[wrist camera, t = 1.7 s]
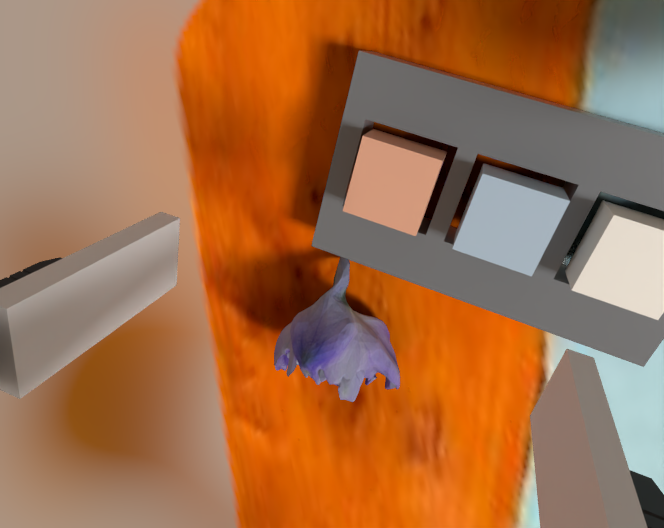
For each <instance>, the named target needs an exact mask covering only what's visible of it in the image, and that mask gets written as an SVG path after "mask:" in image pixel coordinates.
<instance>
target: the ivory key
mask: <svg viewBox="0 0 664 528" xmlns="http://www.w3.org/2000/svg"><path fill="white" fill-rule="evenodd" d="M565 273H566V276H567V279H568V282H569V285H570V288H571V290H572V291H575V292H578V293H581V294H584V295H587V296H589V297H592V298H595V299H598V300H601V301H604V302H607V303H610V304H613V305H615V306H618V307H621V308H624V309H627V310H630V311H633V312H636V313H639V314H641V315H644V316H647V317H650V318H653V319H656V320H659V318H660V317H661V315H662V314H663V313H664V219H661V218H658V217H655V216H652V215H648V214H645V213H642V212H639V211H636V210H632V209H629V208H626V207H623V206H619V205H616V204H613V203H610V202H607V201H602V203H601V205H600V207H599V209H598V210H597V212H596V214H595V216H594V218H593V220H592V221H591V223H590V225H589V227H588V229H587V231H586V232H585V234H584V236H583V238H582V240H581V242H580V243H579V245H578V247H577V249H576V251H575V253H574V255H573V256H572V258H571V260H570V262H569V264H568V266H567V267H566V269H565Z"/></svg>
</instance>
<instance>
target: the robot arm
mask: <svg viewBox="0 0 664 528" xmlns="http://www.w3.org/2000/svg"><path fill="white" fill-rule="evenodd" d="M179 225H180V218H178V217H175V216H172V215H169V214H166V213H163V212H159V213H157V214H155V215H153V216H151V217H149V218H147V219H145V220H142V221H140V222H138V223H136V224H134V225H132V226H130V227H128V228H126V229H124V230H122V231H120V232H117V233H115V234H113V235H111V236H109V237H107V238H105V239H103V240H100V241H98V242H97V243H94V244H92V245H90V246H88V247H86V248H84V249H82V250H80V251H77V252H75V253H73V254H71V255H69V256H67V257H65V258H55V259H51V260H47V261H42V262H39V263H37V264H35V265H32V266H30V267H28V268H26V269H24V270H23V271H22V272H21V271H19V272H17V273H15V274H13V275H10V277H9V278H4V279H2V280H0V390H2V391H4V392H6V393H9V394H10V395H13V396H15V397H17V398H19V399H20V398H22V397H23V396H25V395H26V394H27V393H29V392H30V391H32V390H33V389H34V388H36V387H37V386H38V385H40V384H41V383H42V382H44V381H45V380H47V379H48V378H49V377H51V376H52V375H53V374H55V373H56V372H58V371H59V370H60V369H62V368H63V367H64V366H66V365H67V364H69V363H70V362H71V361H73V360H74V359H75V358H77V357H78V356H79V355H81V354H82V353H84V352H85V351H86V350H88V349H89V348H90V347H92V346H93V345H95V344H96V343H98V342H99V341H100V340H102V339H103V338H104V337H106V336H107V335H109V334H110V333H111V332H113V331H114V330H115V329H117V328H118V327H119V326H121V325H122V324H124V323H125V322H126V321H128V320H129V319H130V318H132V317H133V316H135V315H136V314H137V313H139V312H140V311H141V310H143V309H144V308H146V307H147V306H148V305H150V304H151V303H152V302H154V301H155V300H157V299H158V298H159V297H161V296H162V295H163V294H165V293H166V292H168V291H169V290H170V289H172V288H173V287H174V286H176V283H177V282H176V281H177V262H178V244H179ZM530 418H531V429H532V440H533V451H534V462H535V473H536V484H537V495H538V506H539V517H540V528H664V495H663V493H662V492H661V491H660V489H659V488H658V486H657V485H656V484H655V482H654V481H653V480H652V479H651V478H649V477H646V476H643V475H641V474H638V473H635V472H633V471H630V470H629V468H628V465H627V461H626V458H625V455H624V452H623V449H622V446H621V442H620V439H619V436H618V433H617V430H616V427H615V423H614V420H613V417H612V414H611V411H610V408H609V405H608V401H607V398H606V395H605V392H604V389H603V386H602V382H601V379H600V376H599V373H598V370H597V367H596V363H595V360H594V358H593V357H590V356H587V355H584V354H581V353H578V352H575V351H572V350H569V349H566V351H565V353H564V355H563V357H562V359H561V360H560V362H559V364H558V366H557V368H556V370H555V371H554V373H553V375H552V377H551V379H550V380H549V382H548V384H547V386H546V388H545V390H544V391H543V393H542V395H541V397H540V399H539V401H538V402H537V404H536V406H535V408H534V410H533V411H532V413H531V415H530Z"/></svg>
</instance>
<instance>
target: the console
mask: <svg viewBox="0 0 664 528" xmlns="http://www.w3.org/2000/svg"><path fill="white" fill-rule="evenodd" d="M374 122H377V123H380V124H383V125H386V126H390V127H393V128H396V129H399V130H403V131H406V132H409V133H412V134H415V135H419V136H422V137H425V138H428V139H432V140H435V141H438V142H441V143H445V144H448V145H451V146H454V147H458V149H457V152H456V155H455V158H454V160H453V163H452V166H451V168H450V171H449V174H448V177H447V179H446V182H445V185H444V187H443V190H442V193H441V196H440V198H439V201H438V204H437V206H436V209H435V212H434V215H433V217H432V220H431V219H428V218H425V217H424V218H423V220H422V223H421V225H420V228H419V230H418V232H417V235H416V236H413V235H410V234H407V233H405V232H402V231H399V230H396V229H393V228H390V227H387V226H384V225H381V224H379V223H376V222H373V221H370V220H367V219H364V218H361V217H358V216H355V215H353V214H350V213H347V212H344V211H343V208H344V204H345V200H346V196H347V193H348V189H349V185H350V181H351V178H352V174H353V170H354V166H355V163H356V159H357V155H358V151H359V148H360V144H361V140H362V136H363V135H365V134H366V133H368V132H369V131H371V130H372V129H373V125H374ZM478 154H480V155H483V156H487V157H490V158H493V159H496V160H500V161H503V162H506V163H509V164H513V165H516V166H519V167H522V168H526V169H529V170H532V171H535V172H539V173H542V174H545V175H548V176H551V177H555V178H558V179H561V180H564V181H566V182H565V184H564V187H563V188H564V190H565V192H566V194H567V196H568V198H569V200H570V203H569V205H568V206H567V208H566V210H565V212H564V214H563V216H562V218H561V220H560V222H559V224H558V226H557V228H556V230H555V232H554V234H553V236H552V238H551V240H550V242H549V244H548V246H547V248H546V250H545V252H544V254H543V256H542V258H541V259H540V261H539V263H538V265H537V267H536V269H535V271H534V273H533V275H532V276H529V275H526V274H523V273H520V272H517V271H514V270H511V269H509V268H506V267H503V266H500V265H497V264H494V263H491V262H488V261H485V260H483V259H480V258H477V257H474V256H471V255H468V254H465V253H462V252H459V251H457V250H454V249H452V248H453V243H454V238H455V233H456V231H457V228H454V227H451V226H450V224H451V221H452V219H453V216H454V214H455V211H456V208H457V206H458V203H459V201H460V198H461V196H462V193H463V191H464V188H465V185H466V183H467V180H468V178H469V175H470V173H471V170H472V167H473V165H474V162H475V160H476V157H477V155H478ZM600 192H603V193H607V194H610V195H613V196H616V197H620V198H623V199H626V200H629V201H632V202H636V203H639V204H642V205H645V206H649V207H652V208H655V209H658V210H662V211H664V133H660V132H657V131H653V130H650V129H646V128H643V127H639V126H636V125H632V124H629V123H625V122H621V121H618V120H614V119H611V118H607V117H604V116H600V115H597V114H593V113H590V112H586V111H583V110H579V109H575V108H572V107H568V106H565V105H561V104H558V103H554V102H551V101H547V100H544V99H540V98H537V97H533V96H529V95H526V94H522V93H519V92H515V91H512V90H508V89H505V88H501V87H498V86H494V85H491V84H487V83H483V82H480V81H476V80H473V79H469V78H466V77H462V76H459V75H455V74H452V73H448V72H445V71H441V70H437V69H434V68H430V67H427V66H423V65H420V64H416V63H413V62H409V61H406V60H402V59H398V58H395V57H391V56H388V55H384V54H381V53H377V52H374V51H359V52H358V56H357V60H356V64H355V69H354V73H353V77H352V81H351V85H350V89H349V93H348V97H347V101H346V106H345V110H344V114H343V118H342V122H341V126H340V130H339V134H338V139H337V143H336V147H335V151H334V155H333V159H332V163H331V167H330V172H329V176H328V180H327V184H326V188H325V192H324V196H323V200H322V204H321V209H320V213H319V217H318V221H317V225H316V229H315V233H314V237H313V242H312V246H313V247H316V248H318V249H321V250H324V251H327V252H329V253H332V254H335V255H338V256H340V257H343V258H346V259H349V260H351V261H354V262H357V263H360V264H362V265H365V266H368V267H371V268H373V269H376V270H379V271H382V272H384V273H387V274H390V275H393V276H395V277H398V278H401V279H404V280H406V281H409V282H412V283H415V284H417V285H420V286H423V287H426V288H428V289H431V290H434V291H437V292H439V293H442V294H445V295H448V296H450V297H453V298H456V299H459V300H461V301H464V302H467V303H470V304H472V305H475V306H478V307H481V308H483V309H486V310H489V311H492V312H494V313H497V314H500V315H503V316H505V317H508V318H511V319H514V320H516V321H519V322H522V323H525V324H527V325H530V326H533V327H536V328H538V329H541V330H544V331H547V332H549V333H552V334H555V335H558V336H560V337H563V338H566V339H569V340H571V341H574V342H577V343H580V344H582V345H585V346H588V347H591V348H593V349H596V350H599V351H602V352H604V353H607V354H610V355H613V356H615V357H618V358H621V359H624V360H626V361H629V362H632V363H635V364H637V365H640V366H643V367H644V365H645V364H646V363H647V361H648V360H649V358H650V357H651V356H652V354H653V353H654V351H655V350H656V349H657V347H658V346H659V344H660V343H661V342H662V340H663V339H664V313H663V314H662V315H661V317H660V318H659V320H656V319H653V318H650V317H647V316H644V315H641V314H639V313H636V312H633V311H630V310H627V309H624V308H621V307H618V306H615V305H613V304H610V303H607V302H604V301H601V300H598V299H595V298H592V297H589V296H587V295H584V294H581V293H578V292H575V291H572V290H571V288H570V285H569V282H568V279H567V276H566V273H565V269H566V267H567V265H564V264H562V262H563V260H564V258H565V256H566V255H567V253H568V251H569V249H570V247H571V245H572V243H573V242H574V240H575V238H576V236H577V234H578V232H579V230H580V229H581V227H582V225H583V223H584V221H585V219H586V217H587V215H588V214H589V212H590V210H591V208H592V206H593V204H594V202H595V201H596V199H597V197H598V195H599V193H600Z"/></svg>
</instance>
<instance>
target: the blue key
mask: <svg viewBox="0 0 664 528" xmlns="http://www.w3.org/2000/svg"><path fill="white" fill-rule="evenodd" d="M569 203H570V200H569V198H568V196H567V194H566V192H565V190H564V188H562V187H558V186H555V185H552V184H549V183H546V182H542V181H539V180H536V179H533V178H530V177H526V176H523V175H520V174H517V173H514V172H510V171H507V170H504V169H501V168H498V167H494V166H491V165H488V164H485V163H483V166H482V168H481V171H480V173H479V176H478V178H477V181H476V183H475V186H474V188H473V191H472V193H471V196H470V198H469V201H468V203H467V206H466V208H465V211H464V213H463V216H462V218H461V221H460V223H459V226H458V228H457V231H456V233H455V238H454V243H453V248H452V249H454V250H457V251H459V252H462V253H465V254H468V255H471V256H474V257H477V258H480V259H483V260H485V261H488V262H491V263H494V264H497V265H500V266H503V267H506V268H509V269H511V270H514V271H517V272H520V273H523V274H526V275H529V276H532V275H533V273H534V271H535V269H536V267H537V265H538V263H539V261H540V259H541V258H542V256H543V254H544V252H545V250H546V248H547V246H548V244H549V242H550V240H551V238H552V236H553V234H554V232H555V230H556V228H557V226H558V224H559V222H560V220H561V218H562V216H563V214H564V212H565V210H566V208H567V206H568V205H569Z"/></svg>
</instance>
